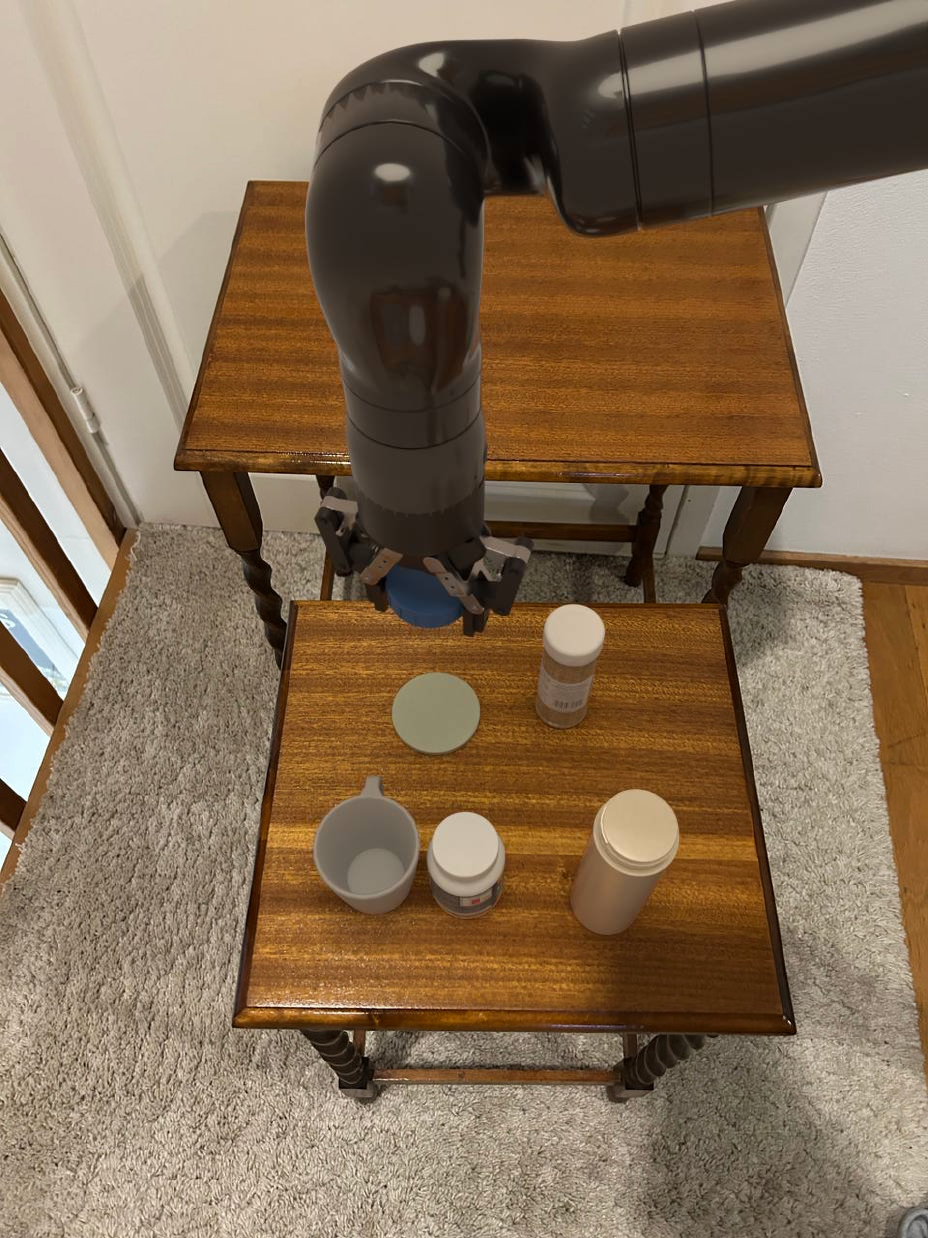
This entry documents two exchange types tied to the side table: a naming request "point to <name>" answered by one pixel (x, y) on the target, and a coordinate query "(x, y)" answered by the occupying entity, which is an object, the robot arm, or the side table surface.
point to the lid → (421, 598)
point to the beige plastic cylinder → (623, 860)
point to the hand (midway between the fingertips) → (429, 613)
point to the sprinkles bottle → (568, 664)
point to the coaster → (436, 713)
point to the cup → (368, 850)
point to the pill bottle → (466, 865)
